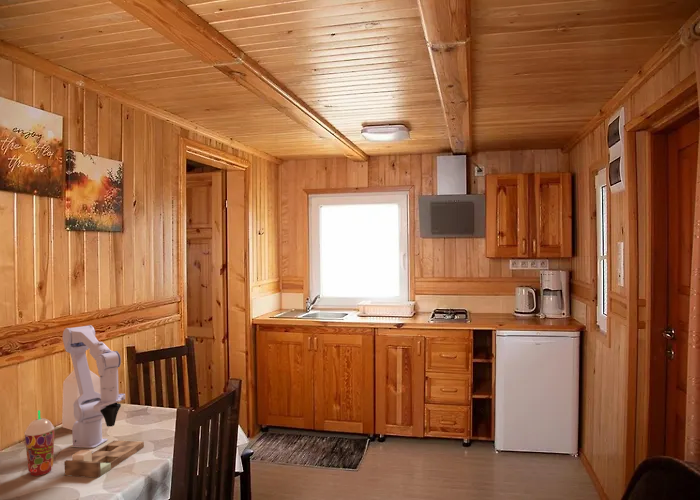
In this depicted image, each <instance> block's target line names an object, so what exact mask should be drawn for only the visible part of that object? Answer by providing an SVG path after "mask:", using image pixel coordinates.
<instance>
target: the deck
mask: <svg viewBox="0 0 700 500" xmlns="http://www.w3.org/2000/svg"><path fill="white" fill-rule="evenodd" d="M143 448H145V444H144V441H138V440H137V441H135V440H112V441H111V442H109V443H107V444H105V445H104V446H102V447H100V448H99V449H97V450H95V451H94V452H93V451H92V461H73V460H72V459H69V460H68V459H67V460H65V461H64V462H63V463H64V464H63V465H64V476H65V475H72V476H71V477H81V476H85V477H84V478H100V477H101V476H103V475H104V474H107V472H109V471H110V470H112V469H113V468H115V467H116V466H118V465H120V464H121V463H122V462H124V461H125V460H127V459H129V458H130V457H131V456H133V455H135V454H137V452H139V451H141V450H142V449H143Z"/></svg>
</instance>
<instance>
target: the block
mask: <svg viewBox="0 0 700 500" xmlns="http://www.w3.org/2000/svg"><path fill="white" fill-rule="evenodd" d="M92 453H93V450H92V449H90V450H89V449H80V450H78V451H76V452H75V453H73V454H72V455H71V456H72V457H71V458H72V459H71V460H73V461H92Z"/></svg>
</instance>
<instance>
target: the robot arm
mask: <svg viewBox="0 0 700 500" xmlns="http://www.w3.org/2000/svg"><path fill="white" fill-rule="evenodd" d="M62 342H63V346H64V350H65V352H67V353H69V355H70V358H71V362H72V366H73V370H74V371H75V376H76V380H77V384H78V389H79V393H80V396H79V397H78V398H77V399H76V401H75V402H74V404H73V406H74V417H75V419H76V422H75V423H74V425H73V428H72V430H71V432H72V445H71V446H70V447H71V448H83V449H85V448H86V449H87V448H88V449H94V448H96V447H98V446H101V445H102V444H104V443H105V442H107V441H108V440H109V439H108V438H103V424H102V418H103V416H104V419H105V422H106V423H105V425H106V427H114V426H115V423H116V419H117V415H118V413H119V410H120V408H121V406H122V403H120V402H122V401H123V400H126V393H120V392H119V391H120V390H119V368H120V366H121V364H122V357H121V354H120V353H119V351H118V350H111V348H109V347H108V345H106V344H105V343H104V342H103V341H99V340H98V338H97V337H96V330H95V328H94V326H93V325H91V324H88V325H84V326H75V327H66V328H64V330H63V332H62ZM88 350H89V351H88ZM87 351H88V352H89V354H90V356H91V357H92V358H93V359H94V360H95V361H96V362H95V363H96V367H97V372H98V376H99V377H100V391H101V394H99V393H97V392H95V391H94V387H93V383H92V379H91V375H90V367H89V362H88V359H87V355H86V353H87ZM83 403H84V404H83Z"/></svg>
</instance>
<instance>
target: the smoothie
mask: <svg viewBox="0 0 700 500" xmlns="http://www.w3.org/2000/svg"><path fill="white" fill-rule="evenodd" d="M55 428H56V427H55V426H54V424H52V422H51V420H49V419H47V418H45V417H41V410H40V409H39V410H37V419H34V420H31V422H30V423H29V424H28V425H27V427H26V430H25V431H24V432H23V433H24V439H25V440H24V441H25V450H26V459H27V460H26V461H27V469H28V472H29V473H30V474H29V475H31V476H35V477H38V476H43V475H45V474H48V473H50V472H51V470H52V467H54V453H55V452H54V449H55V447H54V445H55Z"/></svg>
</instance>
